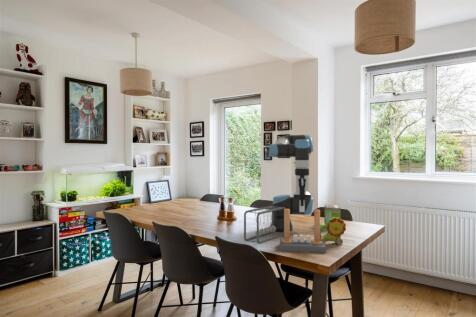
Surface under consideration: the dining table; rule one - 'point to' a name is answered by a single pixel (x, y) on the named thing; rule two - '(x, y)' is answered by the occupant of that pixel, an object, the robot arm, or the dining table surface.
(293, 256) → the dining table surface
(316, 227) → the post
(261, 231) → the newton's cradle
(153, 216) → the dining table surface
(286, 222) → the post
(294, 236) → the breaker paddles
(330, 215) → the tea box
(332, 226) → the toy lion
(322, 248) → the breaker board
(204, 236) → the dining table surface
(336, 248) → the dining table surface
